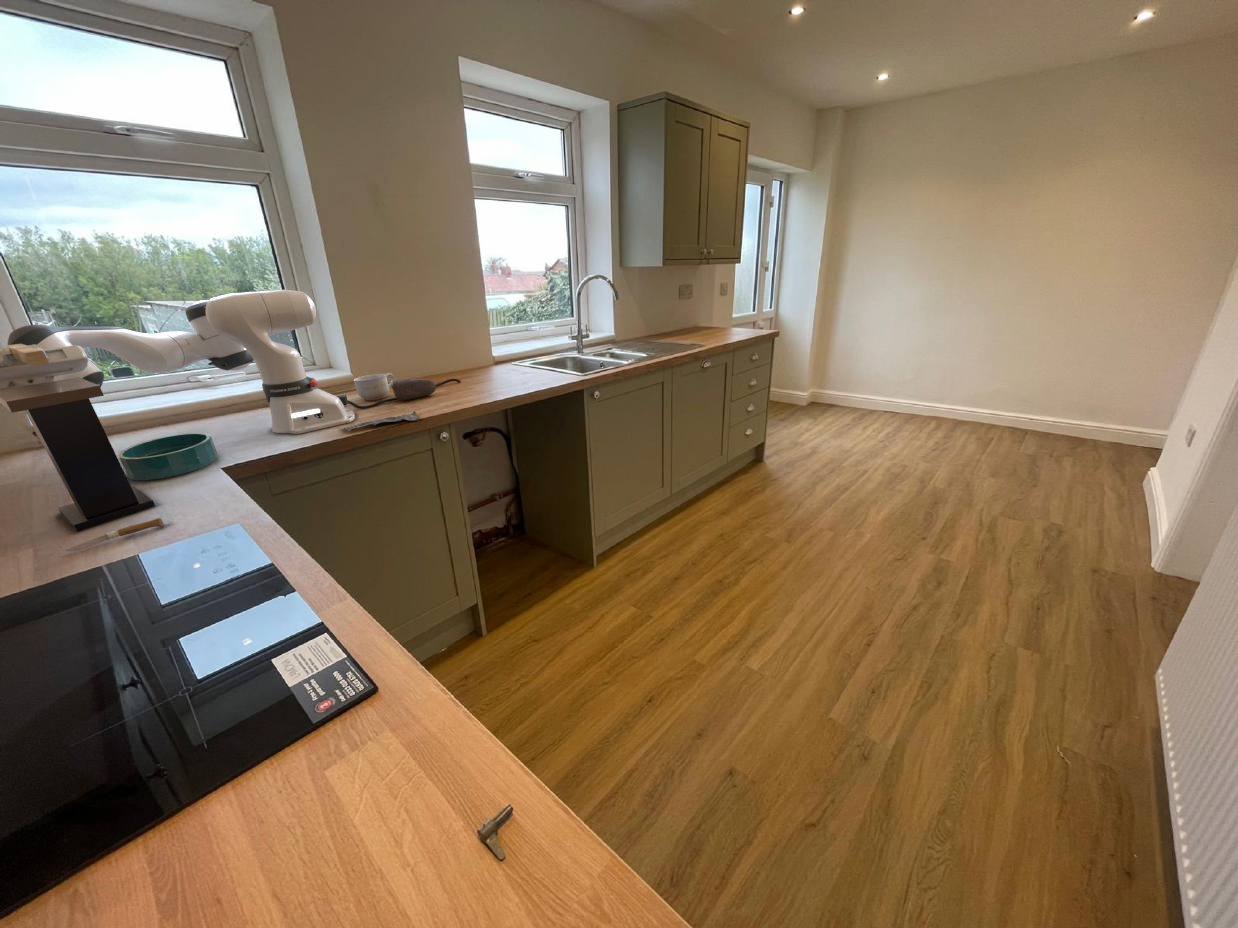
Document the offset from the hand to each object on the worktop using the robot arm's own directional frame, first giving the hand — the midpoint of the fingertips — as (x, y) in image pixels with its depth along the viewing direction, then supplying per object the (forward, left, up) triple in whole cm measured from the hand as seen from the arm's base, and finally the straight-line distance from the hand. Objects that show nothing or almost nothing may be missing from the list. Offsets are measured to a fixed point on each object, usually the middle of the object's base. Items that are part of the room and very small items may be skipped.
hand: (19, 349), depth 104 cm
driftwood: (-65, -6, -32) cm, 72 cm away
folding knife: (-14, +38, -32) cm, 51 cm away
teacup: (-68, -41, -32) cm, 85 cm away
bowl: (-16, -2, -32) cm, 35 cm away
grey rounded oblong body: (-79, -31, -32) cm, 90 cm away
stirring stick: (-3, +6, -2) cm, 6 cm away
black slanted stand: (-8, +19, -32) cm, 38 cm away
